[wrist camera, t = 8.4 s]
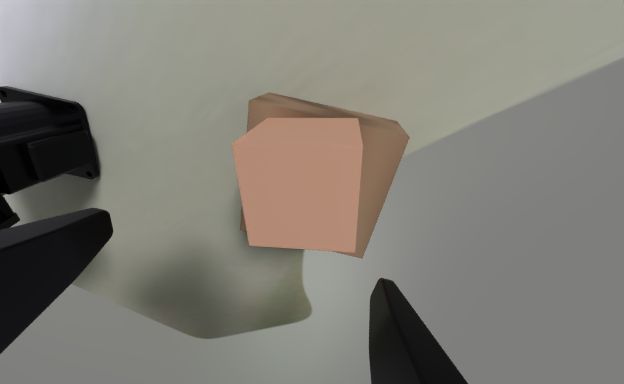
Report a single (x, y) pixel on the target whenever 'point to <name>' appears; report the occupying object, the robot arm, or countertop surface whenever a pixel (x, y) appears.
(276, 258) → the countertop surface
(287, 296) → the countertop surface
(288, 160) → the terracotta cube
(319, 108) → the brown wooden square block
